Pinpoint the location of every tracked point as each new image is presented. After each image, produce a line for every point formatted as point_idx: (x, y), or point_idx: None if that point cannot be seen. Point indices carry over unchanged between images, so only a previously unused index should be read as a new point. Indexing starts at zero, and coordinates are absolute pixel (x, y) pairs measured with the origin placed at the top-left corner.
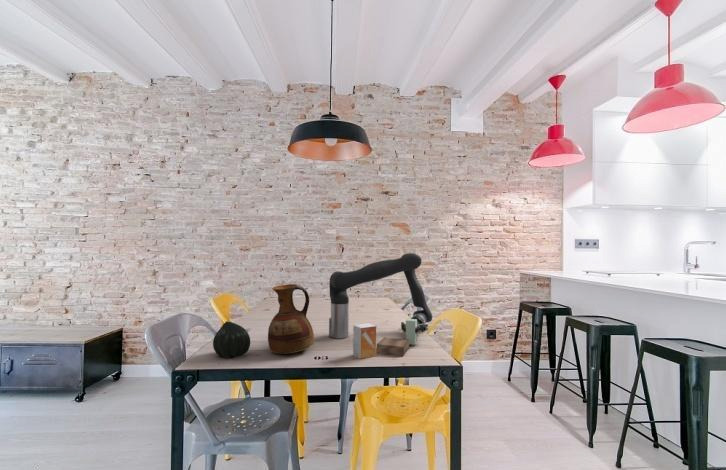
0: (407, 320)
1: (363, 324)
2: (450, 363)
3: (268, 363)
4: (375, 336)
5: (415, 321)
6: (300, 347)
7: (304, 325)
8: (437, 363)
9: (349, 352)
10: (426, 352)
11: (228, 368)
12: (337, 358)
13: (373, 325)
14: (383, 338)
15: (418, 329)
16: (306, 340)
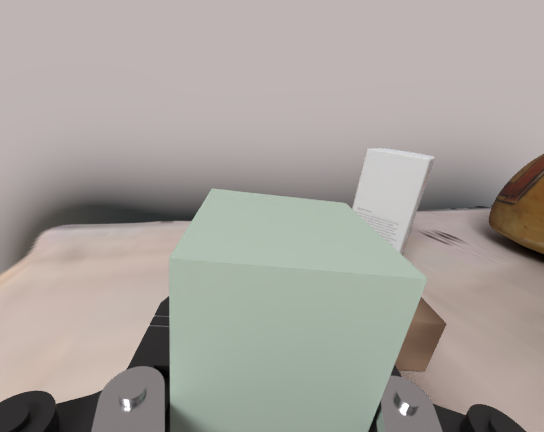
0: (327, 203)
1: (420, 155)
2: (61, 234)
3: (469, 218)
4: (357, 188)
5: (209, 197)
6: (489, 217)
7: (534, 172)
8: (119, 232)
9: (436, 266)
10: (125, 317)
11: (477, 208)
12: (408, 236)
13: (379, 150)
14: (420, 300)
15: (159, 311)
16: (500, 206)
